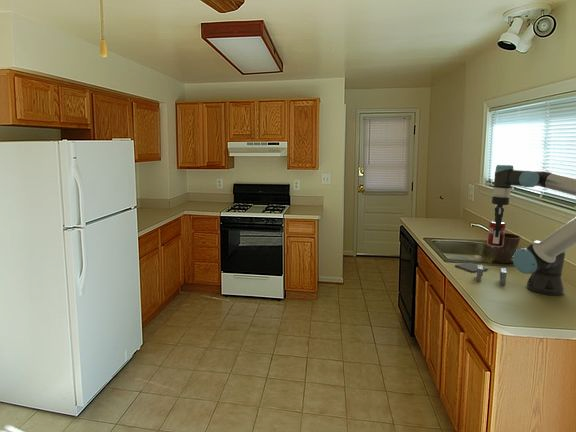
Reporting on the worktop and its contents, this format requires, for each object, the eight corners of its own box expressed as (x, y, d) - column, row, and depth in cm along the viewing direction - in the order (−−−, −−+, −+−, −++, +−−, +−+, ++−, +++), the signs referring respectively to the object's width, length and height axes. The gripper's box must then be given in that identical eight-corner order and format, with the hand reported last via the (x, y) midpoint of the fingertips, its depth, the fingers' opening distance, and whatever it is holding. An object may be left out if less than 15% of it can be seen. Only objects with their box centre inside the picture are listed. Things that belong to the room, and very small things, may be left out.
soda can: (488, 243, 210) (491, 220, 208) (504, 245, 206) (507, 222, 204) (485, 245, 205) (488, 222, 202) (501, 248, 200) (504, 224, 198)
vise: (505, 285, 203) (506, 272, 201) (476, 281, 208) (477, 268, 207) (504, 280, 210) (505, 268, 209) (476, 276, 215) (478, 264, 214)
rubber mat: (487, 270, 226) (488, 268, 226) (472, 272, 221) (472, 271, 221) (470, 264, 237) (470, 262, 237) (454, 266, 232) (455, 264, 232)
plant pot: (508, 257, 253) (511, 232, 250) (522, 265, 239) (526, 238, 236) (484, 257, 253) (487, 232, 250) (497, 264, 238) (500, 237, 235)
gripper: (492, 193, 212) (487, 236, 216) (492, 197, 194) (487, 244, 198) (508, 194, 208) (502, 238, 213) (510, 199, 190) (504, 246, 195)
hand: (495, 241), depth 205 cm, fingers closed on soda can, 7 cm apart
